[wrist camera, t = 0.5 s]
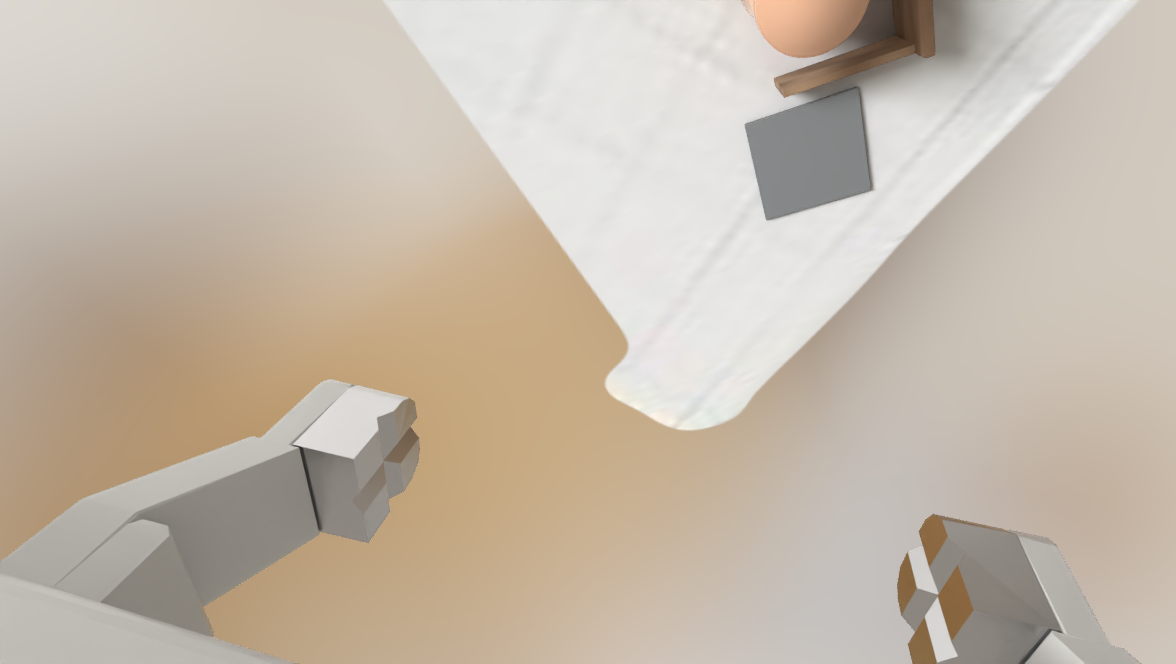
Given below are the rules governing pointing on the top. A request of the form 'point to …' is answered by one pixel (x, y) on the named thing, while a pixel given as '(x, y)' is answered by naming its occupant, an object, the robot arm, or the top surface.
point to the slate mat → (810, 154)
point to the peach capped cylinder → (806, 23)
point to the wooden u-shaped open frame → (871, 50)
